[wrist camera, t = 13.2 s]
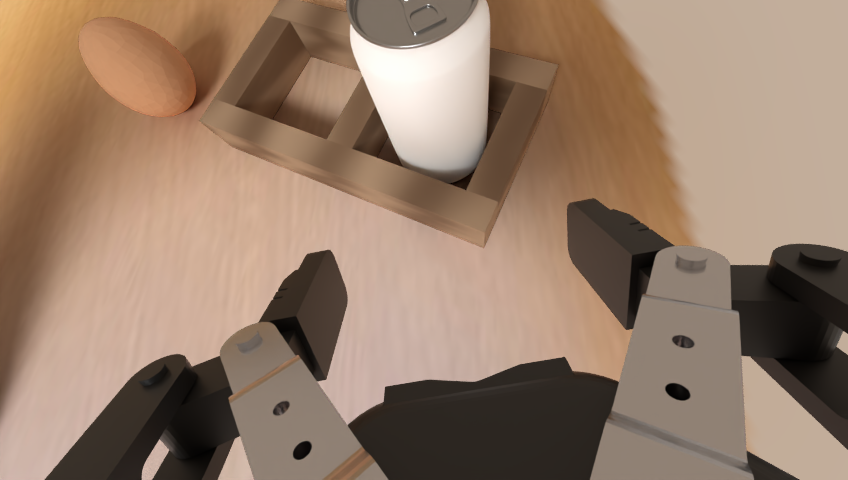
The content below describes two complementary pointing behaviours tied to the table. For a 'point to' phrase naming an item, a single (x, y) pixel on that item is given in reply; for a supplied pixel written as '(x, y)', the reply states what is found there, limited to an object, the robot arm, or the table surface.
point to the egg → (137, 66)
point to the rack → (372, 124)
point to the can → (427, 78)
